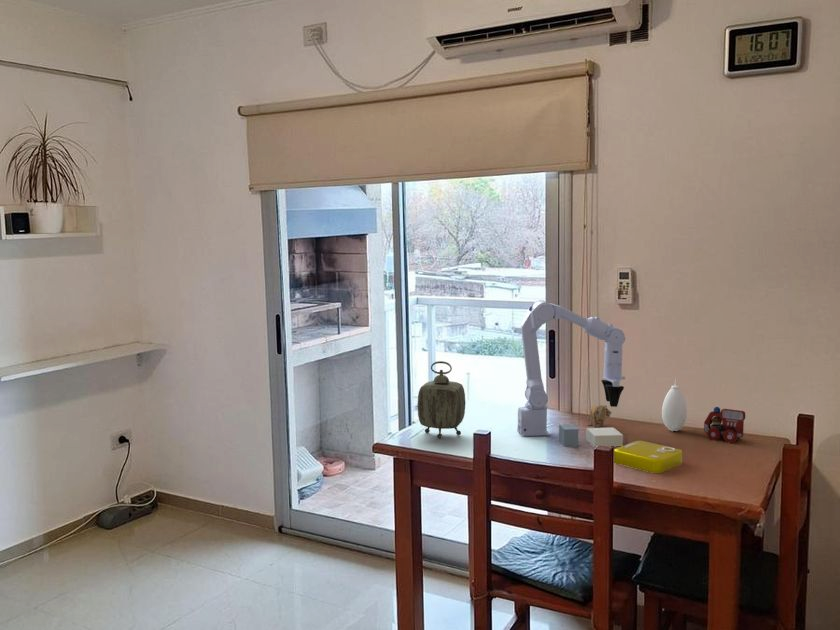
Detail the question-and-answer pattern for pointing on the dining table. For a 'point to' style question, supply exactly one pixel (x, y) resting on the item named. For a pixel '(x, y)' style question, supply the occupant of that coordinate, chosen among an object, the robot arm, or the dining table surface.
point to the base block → (604, 437)
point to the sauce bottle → (674, 409)
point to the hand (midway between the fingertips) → (611, 403)
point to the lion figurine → (599, 415)
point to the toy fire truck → (725, 424)
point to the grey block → (568, 435)
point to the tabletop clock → (441, 403)
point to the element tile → (648, 456)
